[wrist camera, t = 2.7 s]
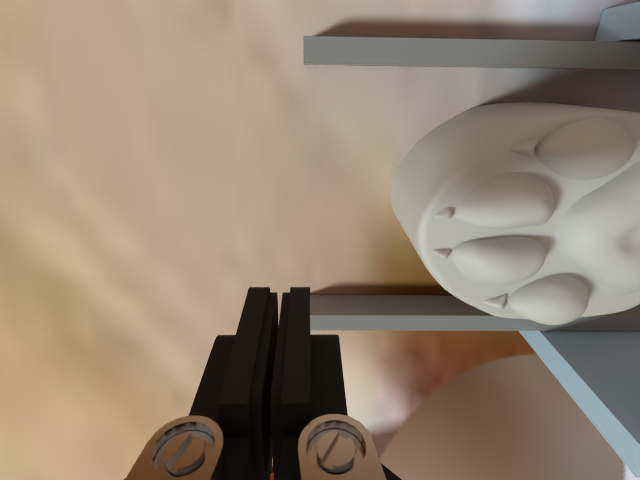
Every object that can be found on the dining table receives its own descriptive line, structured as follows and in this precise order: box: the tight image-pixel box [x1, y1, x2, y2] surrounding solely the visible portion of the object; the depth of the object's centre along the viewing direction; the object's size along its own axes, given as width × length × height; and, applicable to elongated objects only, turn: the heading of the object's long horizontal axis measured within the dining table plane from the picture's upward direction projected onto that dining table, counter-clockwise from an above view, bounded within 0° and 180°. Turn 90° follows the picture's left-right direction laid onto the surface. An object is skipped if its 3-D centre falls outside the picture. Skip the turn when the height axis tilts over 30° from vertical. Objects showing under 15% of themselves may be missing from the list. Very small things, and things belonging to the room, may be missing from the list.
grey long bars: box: [304, 36, 640, 331], centre depth 23 cm, size 28×17×2 cm, turn 89°
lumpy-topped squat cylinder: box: [390, 102, 640, 325], centre depth 20 cm, size 10×13×9 cm
